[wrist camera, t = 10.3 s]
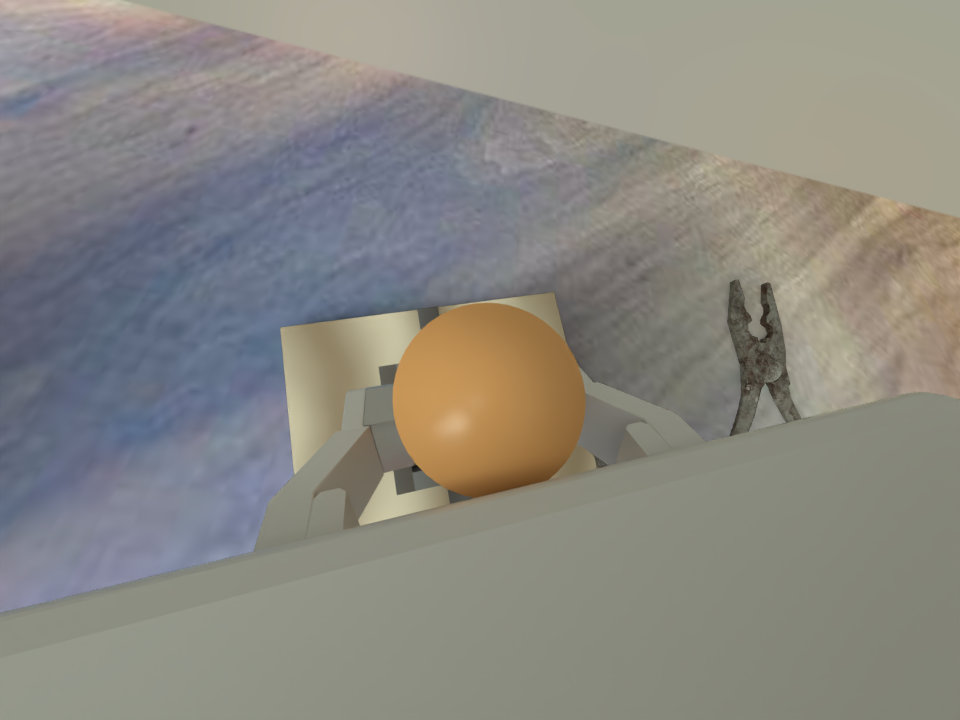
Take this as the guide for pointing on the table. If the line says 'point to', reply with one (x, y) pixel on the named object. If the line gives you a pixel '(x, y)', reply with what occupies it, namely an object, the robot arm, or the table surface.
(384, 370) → the cream rectangular base board
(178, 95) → the table surface
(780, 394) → the pliers
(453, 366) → the orange rounded handle
